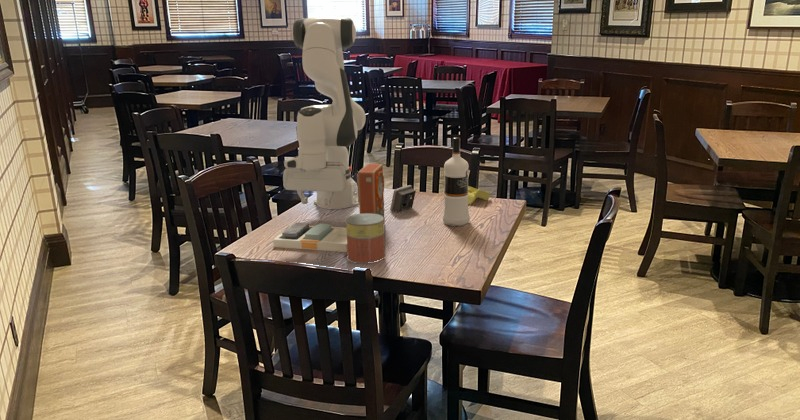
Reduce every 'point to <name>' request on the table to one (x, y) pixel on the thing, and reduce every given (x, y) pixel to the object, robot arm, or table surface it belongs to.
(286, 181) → the robot arm
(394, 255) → the table surface
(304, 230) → the dark grey long block
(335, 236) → the cream compartment tray
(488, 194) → the plastic component
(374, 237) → the canned food
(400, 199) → the electrical switch
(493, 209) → the table surface
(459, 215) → the vodka
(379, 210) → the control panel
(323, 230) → the panel
